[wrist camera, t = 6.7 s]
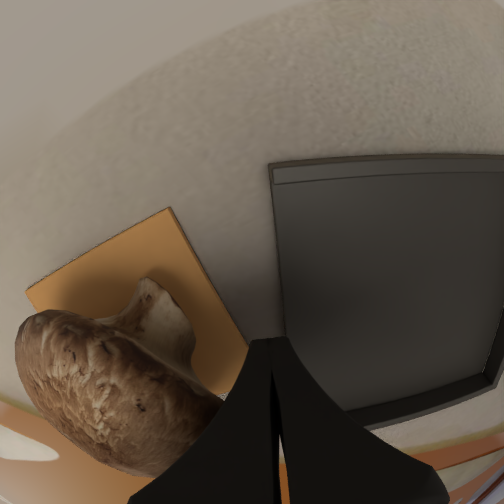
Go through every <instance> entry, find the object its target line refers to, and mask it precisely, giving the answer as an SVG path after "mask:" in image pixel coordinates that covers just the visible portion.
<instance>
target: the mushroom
mask: <svg viewBox="0 0 504 504" xmlns="http://www.w3.org/2000/svg"><path fill="white" fill-rule="evenodd" d="M195 345H196V337H195V334H194V330H193V326H192V324H191V322H190V321H189V319H188V318H187V316H186V315H185V313H184V311H183V310H182V308H181V307H180V306H179V305H178V303H177V302H176V301H175V299H174V298H173V297H172V296H171V294H170V293H169V292H168V291H167V290H166V289H164V288H163V287H162V286H161V285H160V284H158V283H157V282H156V281H154V280H152V279H151V278H149V277H147V276H146V277H143V278H140V279H139V282H138V285H137V287H136V290H135V293H134V295H133V297H132V298H131V300H130V302H129V303H128V305H127V306H126V307H125V308H124V309H123V310H122V311H121V312H119V313H118V314H117V315H114V316H111V317H108V318H102V319H92V318H88V317H85V316H82V315H79V314H75V313H72V312H69V311H66V310H53V309H47V310H44V311H42V312H40V313H37V314H35V315H32V316H30V317H28V318H27V319H26V320H25V321H24V322H23V323H22V325H21V326H20V327H19V331H18V334H17V337H16V341H15V361H16V365H17V369H18V373H19V377H20V379H21V382H22V384H23V386H24V388H25V390H26V392H27V394H28V396H29V397H30V399H31V401H32V402H33V404H34V405H35V407H36V408H37V410H38V411H39V413H40V414H41V415H42V416H43V417H44V418H45V419H46V420H47V421H48V422H49V423H50V424H51V425H52V426H53V427H54V428H56V429H57V430H58V431H59V432H60V433H61V434H63V435H64V436H65V437H66V438H67V439H69V440H70V441H71V442H72V443H74V444H75V445H76V446H77V447H79V448H80V449H82V450H83V451H84V452H86V453H87V454H89V455H90V456H91V457H93V458H94V459H96V460H97V461H99V462H101V463H103V464H105V465H108V466H110V467H112V468H115V469H117V470H120V471H122V472H125V473H127V474H130V475H132V476H140V477H151V478H157V477H158V476H160V475H161V474H162V473H163V472H164V471H165V470H167V469H168V468H169V467H170V466H171V465H172V464H173V463H174V462H175V461H176V460H177V459H178V458H179V457H181V456H182V455H183V454H184V453H185V452H186V451H187V450H188V449H189V447H190V446H191V445H192V444H193V443H194V442H195V441H196V440H197V438H198V437H199V436H200V435H201V434H202V432H203V431H204V430H205V429H206V427H207V426H208V425H209V423H210V422H211V421H212V419H213V418H214V417H215V415H216V414H217V412H218V411H219V409H220V408H221V406H222V404H223V403H224V401H223V400H222V399H221V398H219V397H218V396H216V395H215V394H213V393H212V392H210V391H209V390H208V389H207V388H206V387H205V386H204V385H203V384H202V383H201V381H200V380H199V379H198V377H197V376H196V374H195V372H194V370H193V368H192V366H191V357H192V354H193V352H194V349H195Z"/></svg>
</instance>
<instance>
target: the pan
mask: <svg viewBox="0 0 504 504" xmlns="http://www.w3.org/2000/svg"><path fill="white" fill-rule="evenodd" d="M268 169H269V177H270V186H271V195H272V204H273V213H274V222H275V231H276V241H277V250H278V260H279V270H280V280H281V290H282V301H283V312H284V323H285V334H286V337H287V338H289V340H290V342H291V345H292V347H293V349H294V350H295V352H296V354H297V355H298V357H299V359H300V360H301V362H302V363H303V365H304V366H305V367H306V369H307V370H308V371H309V373H310V374H311V375H312V377H313V378H314V379H315V381H316V382H317V383H318V384H319V385H320V387H321V388H322V389H323V390H324V391H325V392H326V393H327V394H328V396H329V397H330V398H331V399H332V400H333V401H334V402H335V403H336V404H337V405H338V406H339V407H340V408H342V409H343V410H344V411H345V412H346V413H347V414H348V415H349V416H350V417H352V418H353V419H354V420H355V421H356V422H358V423H359V424H360V425H361V426H363V427H364V428H366V429H367V430H368V431H371V430H375V429H379V428H383V427H387V426H391V425H394V424H398V423H402V422H405V421H409V420H412V419H415V418H418V417H422V416H425V415H428V414H431V413H434V412H437V411H440V410H443V409H445V408H448V407H451V406H454V405H456V404H459V403H461V402H464V401H467V400H469V399H472V398H474V397H476V396H479V395H481V394H484V393H486V392H488V391H490V390H493V389H495V388H496V387H497V384H498V382H499V380H500V377H501V375H502V373H503V370H504V307H503V304H504V155H484V154H387V155H364V156H347V157H332V158H319V159H307V160H296V161H286V162H277V163H269V164H268ZM502 308H503V311H502ZM501 312H502V315H501ZM500 316H501V319H500ZM499 319H500V322H499ZM498 323H499V326H498ZM497 326H498V329H497ZM496 330H497V332H496ZM495 333H496V336H495ZM494 336H495V339H494ZM493 340H494V342H493ZM492 343H493V345H492ZM491 346H492V348H491ZM490 349H491V351H490ZM489 352H490V354H489ZM488 355H489V357H488ZM487 358H488V360H487ZM486 360H487V363H486ZM485 363H486V365H485ZM484 366H485V368H484ZM483 369H484V371H483ZM482 371H483V373H482Z"/></svg>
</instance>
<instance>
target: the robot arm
mask: <svg viewBox="0 0 504 504" xmlns="http://www.w3.org/2000/svg"><path fill="white" fill-rule="evenodd" d="M279 434H280V439H281V443H282V448H283V453H284V458H285V463H286V468H287V477H288V487H289V497H290V504H448V503H449V501H450V497H449V495H448V492H447V490H446V487H445V485H444V484H443V482H442V480H441V479H440V477H439V476H438V474H437V473H436V471H435V470H434V469H433V467H432V466H430V465H428V464H425V463H423V462H421V461H419V460H417V459H414V458H412V457H411V456H409V455H407V454H405V453H403V452H401V451H399V450H398V449H396V448H394V447H393V446H391V445H389V444H387V443H386V442H384V441H383V440H381V439H380V438H378V437H377V436H376V435H374V434H373V433H371V432H370V431H368V430H367V429H366V428H364V427H363V426H361V425H360V424H359V423H358V422H356V421H355V420H354V419H353V418H352V417H350V416H349V415H348V414H347V413H346V412H345V411H344V410H343V409H342V408H340V407H339V406H338V405H337V404H336V403H335V402H334V401H333V400H332V399H331V398H330V397H329V396H328V394H327V393H326V392H325V391H324V390H323V389H322V388H321V387H320V385H319V384H318V383H317V382H316V381H315V379H314V378H313V377H312V375H311V374H310V373H309V371H308V370H307V369H306V367H305V366H304V365H303V363H302V362H301V360H300V359H299V357H298V355H297V354H296V352H295V350H294V349H293V347H292V345H291V342H290V340H289V338H287V337H286V336H282V337H274V338H265V339H256V340H252V341H251V342H250V345H249V349H248V352H247V355H246V358H245V361H244V363H243V366H242V368H241V370H240V372H239V375H238V377H237V379H236V381H235V383H234V385H233V387H232V389H231V391H230V392H229V394H228V396H227V398H226V399H225V401H224V403H223V404H222V406H221V408H220V409H219V411H218V412H217V414H216V415H215V417H214V418H213V419H212V421H211V422H210V423H209V425H208V426H207V427H206V429H205V430H204V431H203V432H202V434H201V435H200V436H199V437H198V438H197V440H196V441H195V442H194V443H193V444H192V445H191V446H190V447H189V449H188V450H187V451H186V452H185V453H184V454H183V455H182V456H181V457H179V458H178V459H177V460H176V461H175V462H174V463H173V464H172V465H171V466H170V467H169V468H168V469H167V470H165V471H164V472H163V473H162V474H161V475H160V476H158V477H157V478H156V479H154V480H153V481H152V482H150V483H149V484H148V485H146V486H145V487H144V488H142V489H141V490H140V491H138V492H137V493H135V494H134V495H132V496H131V497H130V498H129V501H128V503H127V504H282V500H281V489H280V477H279Z"/></svg>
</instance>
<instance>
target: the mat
mask: <svg viewBox="0 0 504 504" xmlns="http://www.w3.org/2000/svg"><path fill="white" fill-rule="evenodd" d="M146 276H147V277H149V278H151V279H152V280H154V281H156V282H157V283H158V284H160V285H161V286H162V287H163V288H164V289H166V290H167V291H168V292H169V293H170V294H171V296H172V297H173V298H174V299H175V301H176V302H177V303H178V305H179V306H180V307H181V308H182V310H183V311H184V313H185V315H186V316H187V318H188V319H189V321H190V322H191V324H192V326H193V330H194V334H195V337H196V345H195V349H194V352H193V354H192V357H191V366H192V368H193V370H194V372H195V374H196V376H197V377H198V379H199V380H200V381H201V383H202V384H203V385H204V386H205V387H206V388H207V389H208V390H209V391H210V392H212V393H213V394H215V395H219V394H222V393H225V392H229V391H231V389H232V387H233V385H234V383H235V381H236V379H237V377H238V375H239V372H240V370H241V368H242V366H243V363H244V361H245V358H246V355H247V352H248V349H249V347H248V345H247V343H246V342H245V340H244V338H243V337H242V335H241V333H240V332H239V330H238V328H237V327H236V325H235V323H234V322H233V320H232V318H231V316H230V315H229V313H228V311H227V310H226V308H225V306H224V304H223V303H222V301H221V299H220V298H219V296H218V294H217V292H216V291H215V289H214V287H213V285H212V283H211V282H210V280H209V278H208V276H207V275H206V273H205V271H204V269H203V267H202V266H201V264H200V262H199V260H198V258H197V257H196V255H195V253H194V251H193V249H192V248H191V246H190V244H189V242H188V240H187V238H186V237H185V235H184V233H183V231H182V229H181V227H180V225H179V224H178V222H177V220H176V218H175V216H174V214H173V212H172V210H171V208H170V207H168V208H166V209H164V210H163V211H161V212H159V213H157V214H155V215H153V216H151V217H149V218H147V219H145V220H144V221H142V222H140V223H138V224H136V225H134V226H133V227H131V228H129V229H127V230H125V231H123V232H122V233H120V234H118V235H116V236H114V237H113V238H111V239H109V240H107V241H106V242H104V243H102V244H100V245H99V246H97V247H95V248H93V249H92V250H90V251H88V252H87V253H85V254H83V255H82V256H80V257H78V258H77V259H75V260H73V261H72V262H70V263H68V264H67V265H65V266H63V267H62V268H60V269H58V270H57V271H55V272H54V273H52V274H50V275H49V276H47V277H46V278H44V279H42V280H41V281H39V282H38V283H36V284H35V285H33V286H32V287H30V288H28V289H27V290H26V291H25V294H26V295H27V297H28V299H29V300H30V302H31V303H32V305H33V306H34V308H35V309H36V311H37V312H38V313H40V312H42V311H44V310H47V309H53V310H66V311H69V312H72V313H75V314H79V315H82V316H85V317H88V318H92V319H102V318H108V317H111V316H114V315H117V314H118V313H119V312H121V311H122V310H123V309H124V308H125V307H126V306H127V305H128V303H129V302H130V300H131V298H132V297H133V295H134V293H135V290H136V287H137V285H138V282H139V279H140V278H143V277H146Z"/></svg>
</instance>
